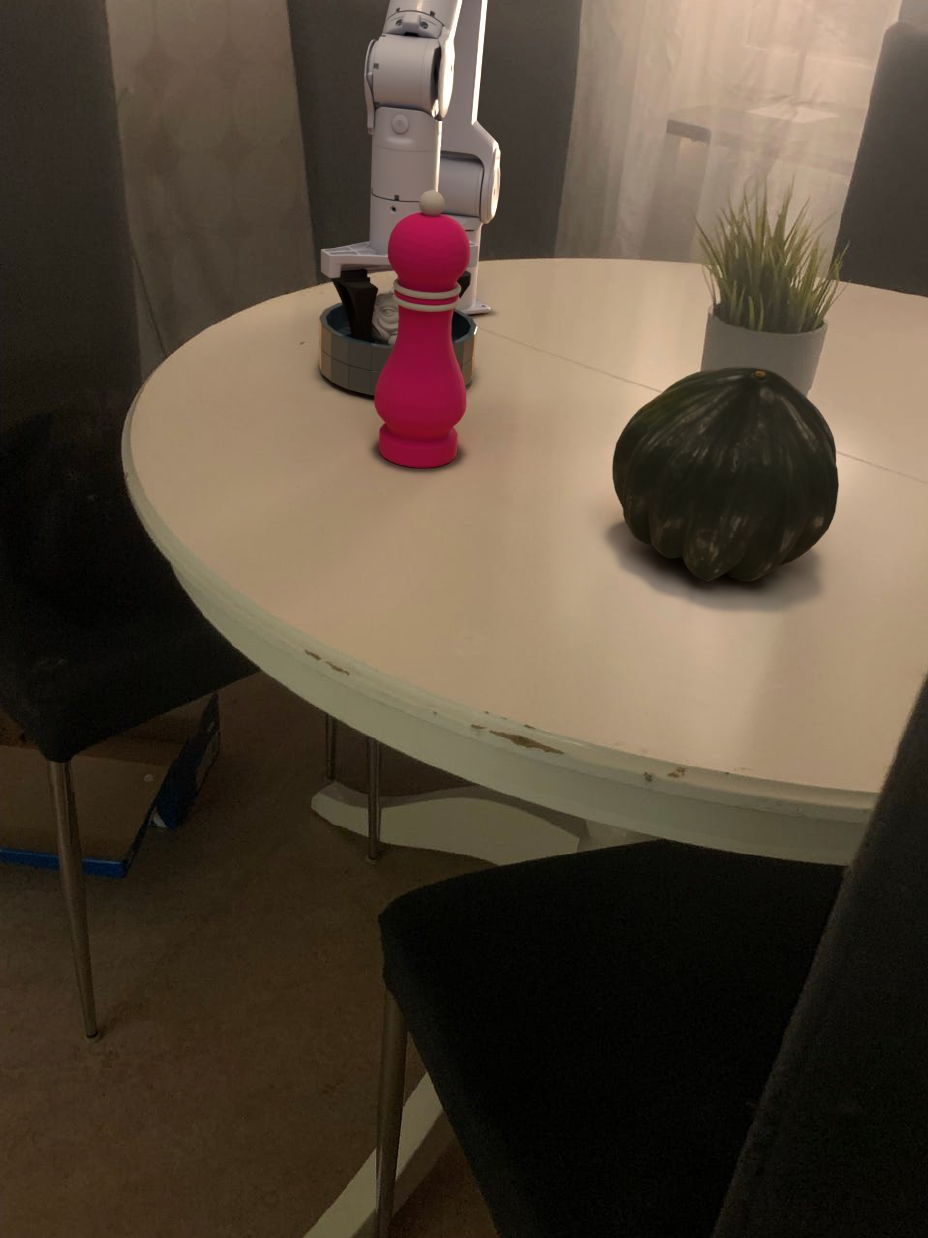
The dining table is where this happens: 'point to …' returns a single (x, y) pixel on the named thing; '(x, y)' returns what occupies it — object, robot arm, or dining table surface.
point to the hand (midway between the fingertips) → (397, 349)
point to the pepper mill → (423, 340)
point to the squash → (728, 473)
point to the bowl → (378, 351)
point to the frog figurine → (385, 320)
